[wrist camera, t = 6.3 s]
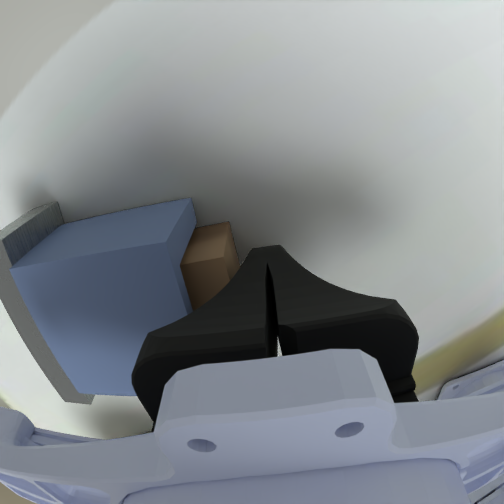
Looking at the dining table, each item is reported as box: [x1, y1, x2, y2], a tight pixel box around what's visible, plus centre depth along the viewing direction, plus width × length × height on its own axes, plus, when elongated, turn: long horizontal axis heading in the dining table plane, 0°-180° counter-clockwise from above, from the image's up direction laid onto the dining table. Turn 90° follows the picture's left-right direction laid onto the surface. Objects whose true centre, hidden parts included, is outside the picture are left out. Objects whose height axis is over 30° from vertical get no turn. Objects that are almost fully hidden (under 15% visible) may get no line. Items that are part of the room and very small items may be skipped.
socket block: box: [9, 198, 197, 396], centre depth 11 cm, size 6×6×4 cm
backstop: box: [0, 202, 95, 404], centre depth 12 cm, size 2×8×4 cm, turn 9°
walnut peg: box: [180, 222, 240, 311], centre depth 12 cm, size 6×3×3 cm, turn 101°
